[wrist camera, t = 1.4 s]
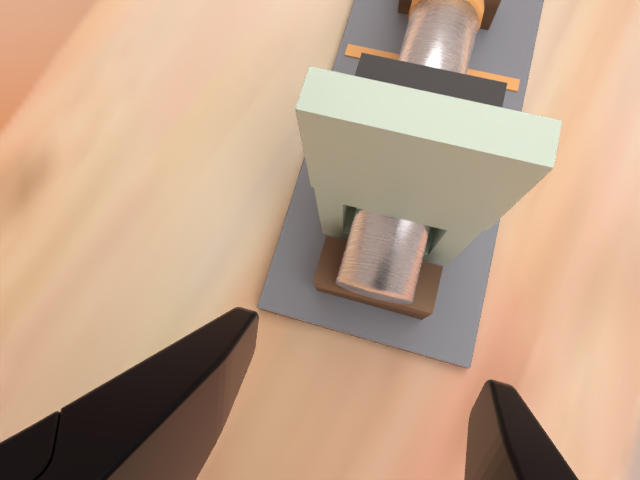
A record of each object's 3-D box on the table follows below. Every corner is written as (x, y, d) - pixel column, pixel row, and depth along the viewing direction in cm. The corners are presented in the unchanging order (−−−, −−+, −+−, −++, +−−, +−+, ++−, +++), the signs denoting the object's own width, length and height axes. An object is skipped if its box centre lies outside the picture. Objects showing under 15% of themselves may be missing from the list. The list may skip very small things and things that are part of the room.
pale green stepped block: (449, 266, 21) (553, 167, 10) (320, 232, 21) (295, 109, 11) (466, 185, 22) (579, 19, 11) (343, 155, 22) (340, -26, 12)
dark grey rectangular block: (463, 172, 22) (501, 111, 16) (351, 146, 22) (353, 79, 17) (468, 150, 22) (507, 83, 17) (358, 124, 22) (361, 52, 17)
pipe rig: (466, 368, 21) (513, 370, 15) (259, 308, 22) (227, 289, 16) (541, -5, 26) (599, -114, 20) (368, -37, 27) (374, -148, 21)
